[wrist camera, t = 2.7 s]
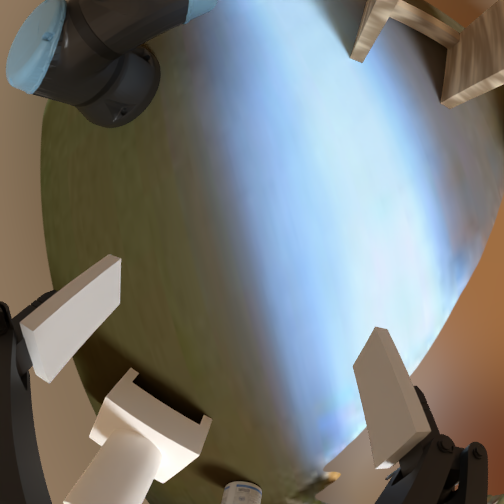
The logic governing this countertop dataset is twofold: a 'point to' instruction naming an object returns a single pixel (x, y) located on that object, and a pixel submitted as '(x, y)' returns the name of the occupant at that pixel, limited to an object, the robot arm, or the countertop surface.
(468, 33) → the wooden open frame
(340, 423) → the countertop surface
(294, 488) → the countertop surface
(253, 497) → the supplement tub
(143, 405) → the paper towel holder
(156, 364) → the countertop surface
